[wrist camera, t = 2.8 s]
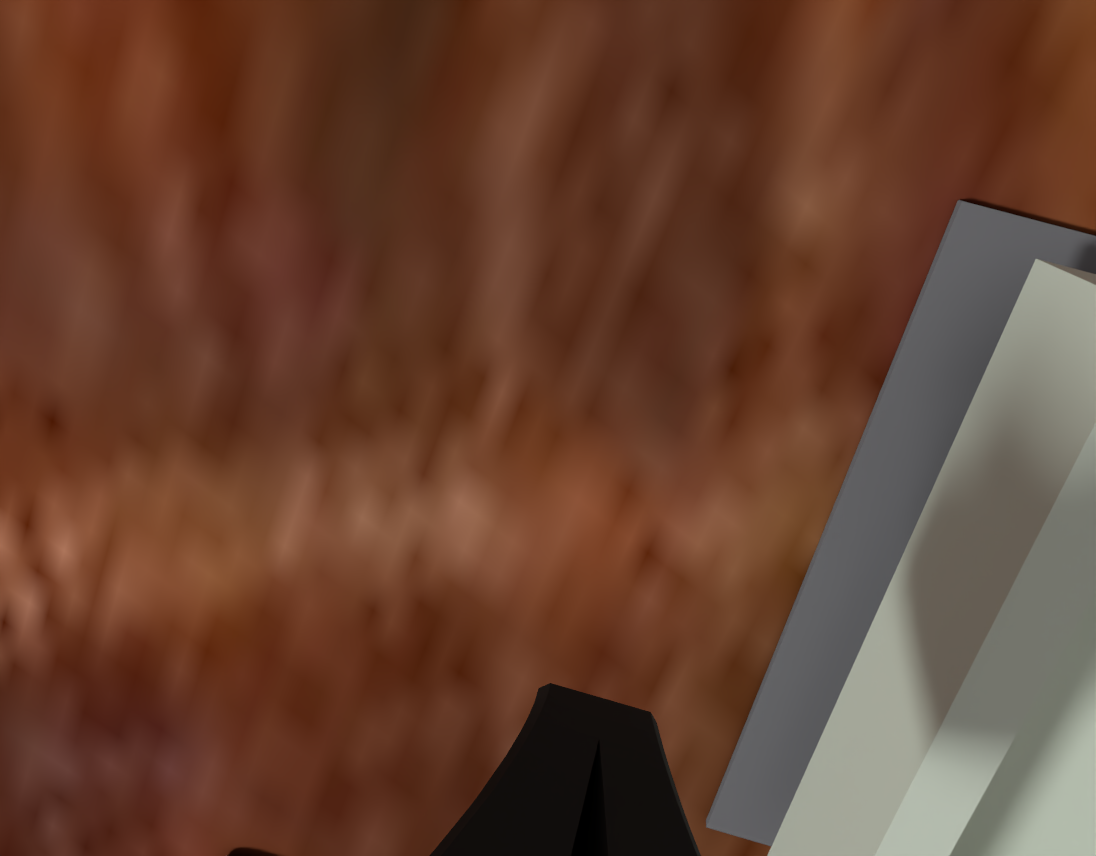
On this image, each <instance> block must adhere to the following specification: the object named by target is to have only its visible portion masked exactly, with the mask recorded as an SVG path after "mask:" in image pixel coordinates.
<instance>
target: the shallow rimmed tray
mask: <svg viewBox="0 0 1096 856" xmlns="http://www.w3.org/2000/svg"><path fill="white" fill-rule="evenodd" d="M768 856H1096V274H1093V273H1089V272H1085V271H1081V270H1078V269H1074V268H1070V267H1066V266H1062V265H1059V264H1055V263H1051V262H1047V261H1043V260H1040V259H1035V262H1034V264H1033V266H1032V268H1031V270H1030V273H1029V275H1028V277H1027V279H1026V282H1025V284H1024V286H1023V288H1022V291H1021V293H1020V295H1019V297H1018V299H1017V302H1016V304H1015V306H1014V308H1013V311H1012V313H1011V315H1010V317H1009V319H1008V322H1007V324H1006V326H1005V328H1004V331H1003V333H1002V335H1001V337H1000V339H999V342H998V344H997V346H996V348H995V351H994V353H993V355H992V357H991V359H990V362H989V364H988V366H987V368H986V371H985V373H984V375H983V377H982V380H981V382H980V384H979V386H978V388H977V391H976V393H975V395H974V397H973V400H972V402H971V404H970V406H969V408H968V411H967V413H966V415H965V417H964V420H963V422H962V424H961V426H960V428H959V431H958V433H957V435H956V437H955V440H954V442H953V444H952V446H951V448H950V451H949V453H948V455H947V457H946V460H945V462H944V464H943V466H942V469H941V471H940V473H939V475H938V477H937V480H936V482H935V484H934V486H933V489H932V491H931V493H930V495H929V497H928V500H927V502H926V504H925V506H924V509H923V511H922V513H921V515H920V517H919V520H918V522H917V524H916V526H915V529H914V531H913V533H912V535H911V537H910V540H909V542H908V544H907V546H906V549H905V551H904V553H903V555H902V558H901V560H900V562H899V564H898V566H897V569H896V571H895V573H894V575H893V578H892V580H891V582H890V584H889V586H888V589H887V591H886V593H885V595H884V598H883V600H882V602H881V604H880V606H879V609H878V611H877V613H876V615H875V618H874V620H873V622H872V624H871V626H870V629H869V631H868V633H867V635H866V638H865V640H864V642H863V644H862V646H861V649H860V651H859V653H858V655H857V658H856V660H855V662H854V664H853V667H852V669H851V671H850V673H849V675H848V678H847V680H846V682H845V684H844V687H843V689H842V691H841V693H840V695H839V698H838V700H837V702H836V704H835V707H834V709H833V711H832V713H831V715H830V718H829V720H828V722H827V724H826V727H825V729H824V731H823V733H822V735H821V738H820V740H819V742H818V744H817V747H816V749H815V751H814V753H813V756H812V758H811V760H810V762H809V764H808V767H807V769H806V771H805V773H804V776H803V778H802V780H801V782H800V784H799V787H798V789H797V791H796V793H795V796H794V798H793V800H792V802H791V804H790V807H789V809H788V811H787V813H786V816H785V818H784V820H783V822H782V824H781V827H780V829H779V831H778V833H777V836H776V838H775V840H774V842H773V845H772V847H771V849H770V851H769V853H768Z"/></svg>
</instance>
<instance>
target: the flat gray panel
mask: <svg viewBox="0 0 1096 856" xmlns="http://www.w3.org/2000/svg"><path fill="white" fill-rule="evenodd" d="M1035 259H1040V260H1043V261H1047V262H1051V263H1055V264H1059V265H1062V266H1066V267H1070V268H1074V269H1078V270H1081V271H1085V272H1089V273H1093V274H1096V236H1095V235H1091V234H1087V233H1083V232H1079V231H1075V230H1072V229H1068V228H1064V227H1060V226H1056V225H1053V224H1049V223H1045V222H1041V221H1037V220H1033V219H1030V218H1026V217H1022V216H1018V215H1014V214H1011V213H1007V212H1003V211H999V210H995V209H992V208H988V207H984V206H980V205H976V204H972V203H969V202H965V201H961V200H958V202H957V204H956V206H955V209H954V211H953V214H952V216H951V219H950V221H949V224H948V226H947V229H946V231H945V234H944V236H943V238H942V241H941V243H940V246H939V248H938V251H937V253H936V256H935V258H934V261H933V263H932V266H931V268H930V270H929V273H928V275H927V278H926V280H925V283H924V285H923V288H922V290H921V293H920V295H919V297H918V300H917V302H916V305H915V307H914V310H913V312H912V315H911V317H910V320H909V322H908V325H907V327H906V329H905V332H904V334H903V337H902V339H901V342H900V344H899V347H898V349H897V352H896V354H895V357H894V359H893V361H892V364H891V366H890V369H889V371H888V374H887V376H886V379H885V381H884V384H883V386H882V389H881V391H880V393H879V396H878V398H877V401H876V403H875V406H874V408H873V411H872V413H871V416H870V418H869V421H868V423H867V425H866V428H865V430H864V433H863V435H862V438H861V440H860V443H859V445H858V448H857V450H856V453H855V455H854V457H853V460H852V462H851V465H850V467H849V470H848V472H847V475H846V477H845V480H844V482H843V485H842V487H841V489H840V492H839V494H838V497H837V499H836V502H835V504H834V507H833V509H832V512H831V514H830V517H829V519H828V521H827V524H826V526H825V529H824V531H823V534H822V536H821V539H820V541H819V544H818V546H817V549H816V551H815V553H814V556H813V558H812V561H811V563H810V566H809V568H808V571H807V573H806V576H805V578H804V581H803V583H802V585H801V588H800V590H799V593H798V595H797V598H796V600H795V603H794V605H793V608H792V610H791V612H790V615H789V617H788V620H787V622H786V625H785V627H784V630H783V632H782V635H781V637H780V640H779V642H778V644H777V647H776V649H775V652H774V654H773V657H772V659H771V662H770V664H769V667H768V669H767V672H766V674H765V676H764V679H763V681H762V684H761V686H760V689H759V691H758V694H757V696H756V699H755V701H754V704H753V706H752V708H751V711H750V713H749V716H748V718H747V721H746V723H745V726H744V728H743V731H742V733H741V736H740V738H739V740H738V743H737V745H736V748H735V750H734V753H733V755H732V758H731V760H730V763H729V765H728V768H727V770H726V772H725V775H724V777H723V780H722V782H721V785H720V787H719V790H718V792H717V795H716V797H715V800H714V802H713V804H712V807H711V809H710V812H709V814H708V817H707V819H706V827H707V828H711V829H714V830H718V831H721V832H724V833H728V834H731V835H735V836H738V837H741V838H745V839H748V840H752V841H755V842H758V843H762V844H765V845H769V846H772V845H773V842H774V840H775V838H776V836H777V833H778V831H779V829H780V827H781V824H782V822H783V820H784V818H785V816H786V813H787V811H788V809H789V807H790V804H791V802H792V800H793V798H794V796H795V793H796V791H797V789H798V787H799V784H800V782H801V780H802V778H803V776H804V773H805V771H806V769H807V767H808V764H809V762H810V760H811V758H812V756H813V753H814V751H815V749H816V747H817V744H818V742H819V740H820V738H821V735H822V733H823V731H824V729H825V727H826V724H827V722H828V720H829V718H830V715H831V713H832V711H833V709H834V707H835V704H836V702H837V700H838V698H839V695H840V693H841V691H842V689H843V687H844V684H845V682H846V680H847V678H848V675H849V673H850V671H851V669H852V667H853V664H854V662H855V660H856V658H857V655H858V653H859V651H860V649H861V646H862V644H863V642H864V640H865V638H866V635H867V633H868V631H869V629H870V626H871V624H872V622H873V620H874V618H875V615H876V613H877V611H878V609H879V606H880V604H881V602H882V600H883V598H884V595H885V593H886V591H887V589H888V586H889V584H890V582H891V580H892V578H893V575H894V573H895V571H896V569H897V566H898V564H899V562H900V560H901V558H902V555H903V553H904V551H905V549H906V546H907V544H908V542H909V540H910V537H911V535H912V533H913V531H914V529H915V526H916V524H917V522H918V520H919V517H920V515H921V513H922V511H923V509H924V506H925V504H926V502H927V500H928V497H929V495H930V493H931V491H932V489H933V486H934V484H935V482H936V480H937V477H938V475H939V473H940V471H941V469H942V466H943V464H944V462H945V460H946V457H947V455H948V453H949V451H950V448H951V446H952V444H953V442H954V440H955V437H956V435H957V433H958V431H959V428H960V426H961V424H962V422H963V420H964V417H965V415H966V413H967V411H968V408H969V406H970V404H971V402H972V400H973V397H974V395H975V393H976V391H977V388H978V386H979V384H980V382H981V380H982V377H983V375H984V373H985V371H986V368H987V366H988V364H989V362H990V359H991V357H992V355H993V353H994V351H995V348H996V346H997V344H998V342H999V339H1000V337H1001V335H1002V333H1003V331H1004V328H1005V326H1006V324H1007V322H1008V319H1009V317H1010V315H1011V313H1012V311H1013V308H1014V306H1015V304H1016V302H1017V299H1018V297H1019V295H1020V293H1021V291H1022V288H1023V286H1024V284H1025V282H1026V279H1027V277H1028V275H1029V273H1030V270H1031V268H1032V266H1033V264H1034V262H1035Z"/></svg>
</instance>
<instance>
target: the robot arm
mask: <svg viewBox="0 0 1096 856" xmlns="http://www.w3.org/2000/svg"><path fill="white" fill-rule="evenodd" d="M430 856H701V855H700V853H699V850H698V848H697V845H696V842H695V840H694V837H693V835H692V832H691V830H690V827H689V824H688V822H687V819H686V816H685V813H684V810H683V808H682V805H681V802H680V799H679V796H678V793H677V790H676V787H675V784H674V781H673V778H672V775H671V772H670V768H669V765H668V762H667V759H666V755H665V752H664V749H663V745H662V741H661V738H660V734H659V730H658V726H657V723H656V721H655V719H654V717H653V716H652V714H651V712H648V711H645V710H641V709H638V708H635V707H631V706H628V705H624V704H621V703H617V702H614V701H610V700H607V699H603V698H600V697H596V696H593V695H590V694H586V693H583V692H579V691H576V690H572V689H569V688H565V687H562V686H558V685H555V684H551V683H550V684H547V685H545V686H543V687H541V688H539V689H538V692H537V696H536V699H535V703H534V705H533V707H532V710H531V712H530V714H529V716H528V718H527V720H526V722H525V724H524V726H523V728H522V730H521V732H520V733H519V735H518V737H517V738H516V740H515V742H514V743H513V745H512V747H511V748H510V750H509V752H508V753H507V755H506V757H505V758H504V759H503V761H502V762H501V764H500V765H499V767H498V768H497V770H496V771H495V772H494V774H493V775H492V777H491V778H490V780H489V781H488V782H487V784H486V785H485V787H484V788H483V790H482V791H481V793H480V794H479V795H478V797H477V798H476V799H475V801H474V802H473V803H472V805H471V806H470V807H469V808H468V810H467V811H466V812H465V813H464V815H463V816H462V817H461V818H460V819H459V821H458V822H457V823H456V824H455V826H454V827H453V828H452V829H451V831H450V832H449V833H448V834H447V835H446V837H445V838H444V839H443V840H442V842H441V843H440V844H439V845H438V846H437V848H436V849H435V850H434V851H433V852H432V854H431V855H430Z"/></svg>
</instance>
